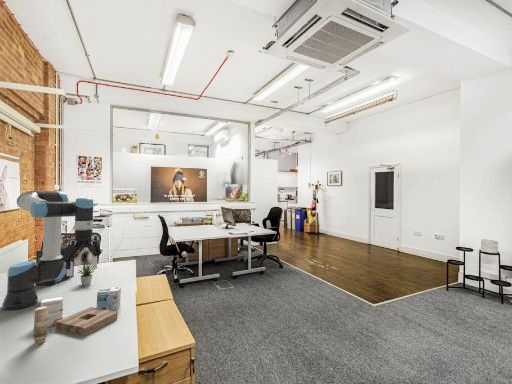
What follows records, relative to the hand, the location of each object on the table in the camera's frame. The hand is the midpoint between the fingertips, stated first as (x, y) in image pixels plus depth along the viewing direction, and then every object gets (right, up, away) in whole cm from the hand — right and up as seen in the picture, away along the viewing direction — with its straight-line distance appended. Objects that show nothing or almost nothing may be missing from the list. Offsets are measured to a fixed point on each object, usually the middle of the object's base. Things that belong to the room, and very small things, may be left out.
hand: (82, 272), depth 133 cm
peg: (-6, -24, -19) cm, 31 cm away
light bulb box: (+4, -25, +16) cm, 30 cm away
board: (+4, -25, -2) cm, 25 cm away
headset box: (-60, -25, +62) cm, 89 cm away
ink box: (-13, -24, -3) cm, 28 cm away
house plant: (-32, -25, +56) cm, 69 cm away
